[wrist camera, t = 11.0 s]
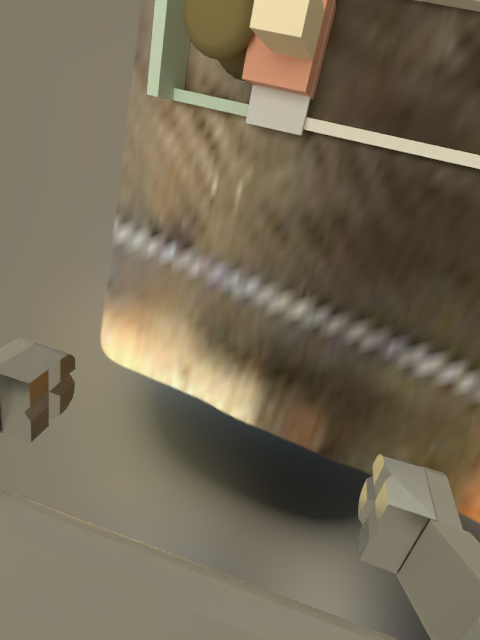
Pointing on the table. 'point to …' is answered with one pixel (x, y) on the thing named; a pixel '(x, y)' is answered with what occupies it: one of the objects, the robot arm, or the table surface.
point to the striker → (286, 60)
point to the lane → (170, 84)
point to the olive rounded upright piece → (220, 30)
